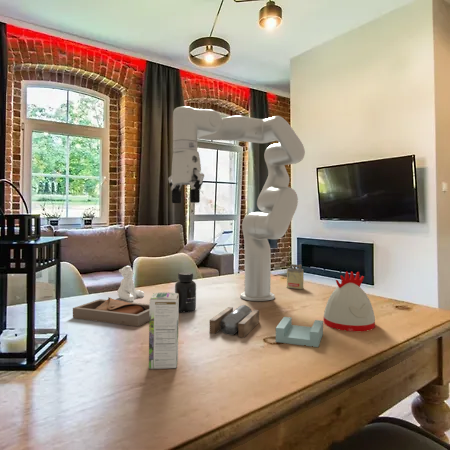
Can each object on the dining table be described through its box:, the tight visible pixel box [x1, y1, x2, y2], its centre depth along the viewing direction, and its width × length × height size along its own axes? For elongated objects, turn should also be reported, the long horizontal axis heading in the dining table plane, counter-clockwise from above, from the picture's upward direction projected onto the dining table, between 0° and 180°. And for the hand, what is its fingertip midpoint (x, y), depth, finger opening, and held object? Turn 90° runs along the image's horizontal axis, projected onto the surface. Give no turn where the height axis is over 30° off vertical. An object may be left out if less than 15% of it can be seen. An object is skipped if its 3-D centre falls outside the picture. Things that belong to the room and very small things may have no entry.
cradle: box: [275, 316, 324, 348], centre depth 93 cm, size 10×10×4 cm
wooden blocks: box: [209, 306, 260, 338], centre depth 101 cm, size 14×10×4 cm
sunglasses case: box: [96, 297, 146, 322], centre depth 112 cm, size 18×7×7 cm, turn 54°
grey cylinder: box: [220, 304, 253, 336], centre depth 102 cm, size 13×5×5 cm, turn 159°
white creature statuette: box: [117, 265, 145, 303], centre depth 135 cm, size 10×9×12 cm
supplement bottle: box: [174, 271, 197, 313], centre depth 119 cm, size 7×7×12 cm
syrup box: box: [148, 291, 180, 370], centre depth 77 cm, size 6×6×14 cm
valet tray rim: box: [72, 298, 149, 328], centre depth 112 cm, size 12×23×3 cm, turn 69°
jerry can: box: [286, 263, 305, 290], centre depth 153 cm, size 7×4×10 cm, turn 60°
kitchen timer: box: [323, 271, 376, 332], centre depth 105 cm, size 14×14×15 cm
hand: (185, 202), depth 116 cm, fingers open, 9 cm apart
